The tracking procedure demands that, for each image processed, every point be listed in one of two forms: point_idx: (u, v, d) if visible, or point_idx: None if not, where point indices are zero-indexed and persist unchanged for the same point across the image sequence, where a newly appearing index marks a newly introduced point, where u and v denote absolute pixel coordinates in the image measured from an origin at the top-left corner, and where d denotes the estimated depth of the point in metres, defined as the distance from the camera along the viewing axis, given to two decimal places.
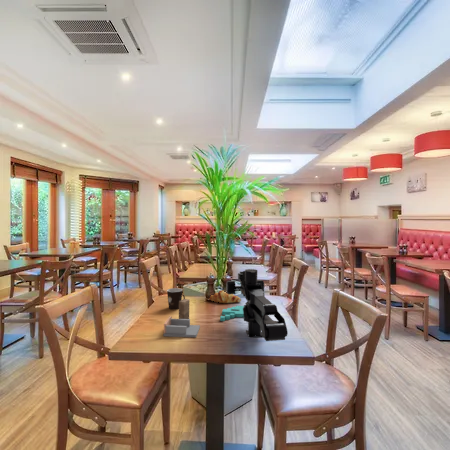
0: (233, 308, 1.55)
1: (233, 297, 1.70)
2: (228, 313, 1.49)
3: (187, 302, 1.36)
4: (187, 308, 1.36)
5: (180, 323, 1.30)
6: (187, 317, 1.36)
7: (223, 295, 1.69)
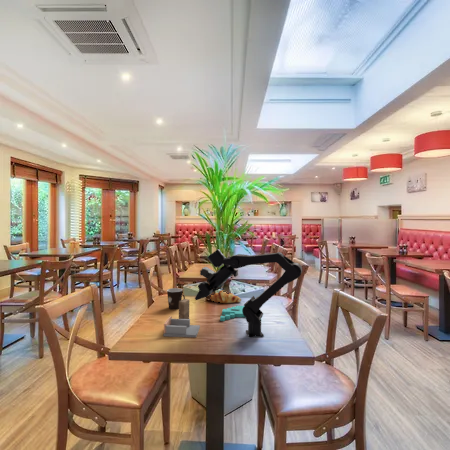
0: (233, 308, 1.55)
1: (233, 297, 1.70)
2: (228, 313, 1.49)
3: (187, 302, 1.36)
4: (187, 308, 1.36)
5: (180, 323, 1.30)
6: (187, 317, 1.36)
7: (223, 295, 1.69)
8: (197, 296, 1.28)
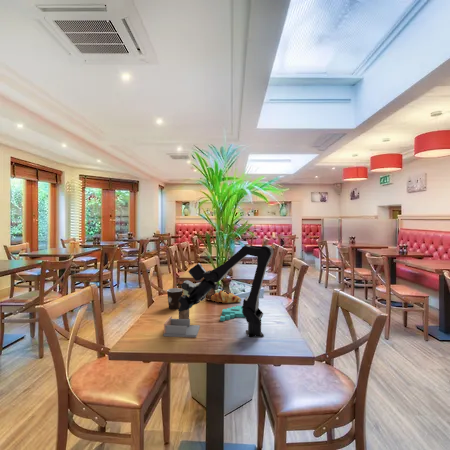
0: (233, 308, 1.55)
1: (233, 297, 1.70)
2: (228, 313, 1.49)
3: None
4: None
5: (180, 323, 1.30)
6: (187, 317, 1.36)
7: (223, 295, 1.70)
8: (180, 308, 1.33)
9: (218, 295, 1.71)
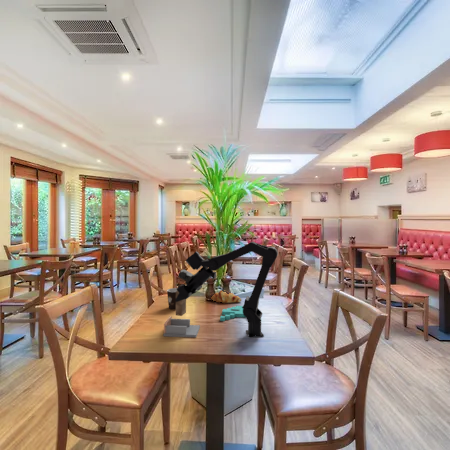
0: (233, 308, 1.55)
1: (233, 297, 1.71)
2: (228, 313, 1.49)
3: None
4: None
5: (180, 323, 1.30)
6: (184, 307, 1.33)
7: (223, 295, 1.70)
8: (177, 298, 1.29)
9: (218, 295, 1.71)
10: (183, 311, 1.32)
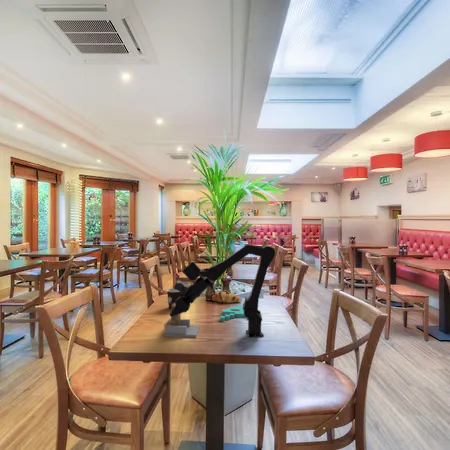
0: (233, 308, 1.55)
1: (233, 297, 1.71)
2: (228, 313, 1.49)
3: None
4: None
5: (180, 323, 1.30)
6: (179, 322, 1.27)
7: (223, 295, 1.70)
8: (173, 312, 1.21)
9: (218, 295, 1.72)
10: None
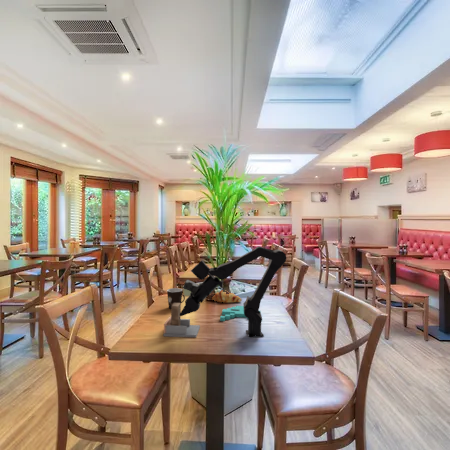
0: (233, 308, 1.55)
1: (234, 297, 1.71)
2: (228, 313, 1.49)
3: (179, 306, 1.26)
4: (179, 312, 1.27)
5: (180, 323, 1.30)
6: (179, 322, 1.27)
7: (223, 295, 1.70)
8: (182, 312, 1.20)
9: (218, 295, 1.72)
10: None
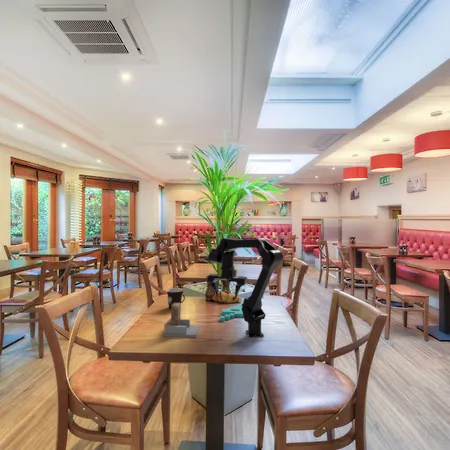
0: (233, 308, 1.55)
1: (234, 297, 1.71)
2: (228, 313, 1.49)
3: (179, 306, 1.26)
4: (179, 312, 1.27)
5: (180, 323, 1.30)
6: (179, 322, 1.27)
7: (224, 295, 1.70)
8: None
9: (219, 295, 1.72)
10: None
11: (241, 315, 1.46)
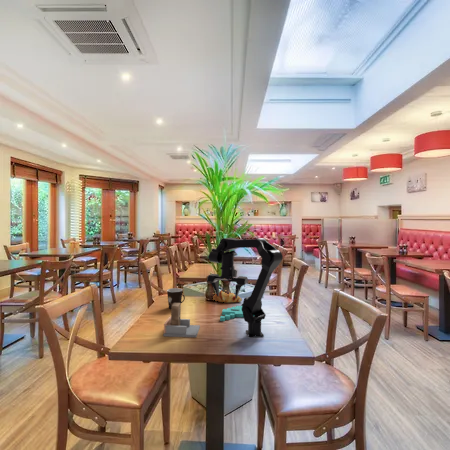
0: (233, 308, 1.55)
1: (234, 297, 1.71)
2: (228, 313, 1.49)
3: (179, 306, 1.26)
4: (179, 312, 1.27)
5: (180, 323, 1.30)
6: (179, 322, 1.27)
7: (224, 295, 1.70)
8: None
9: (219, 295, 1.72)
10: None
11: (241, 315, 1.46)
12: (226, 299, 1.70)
